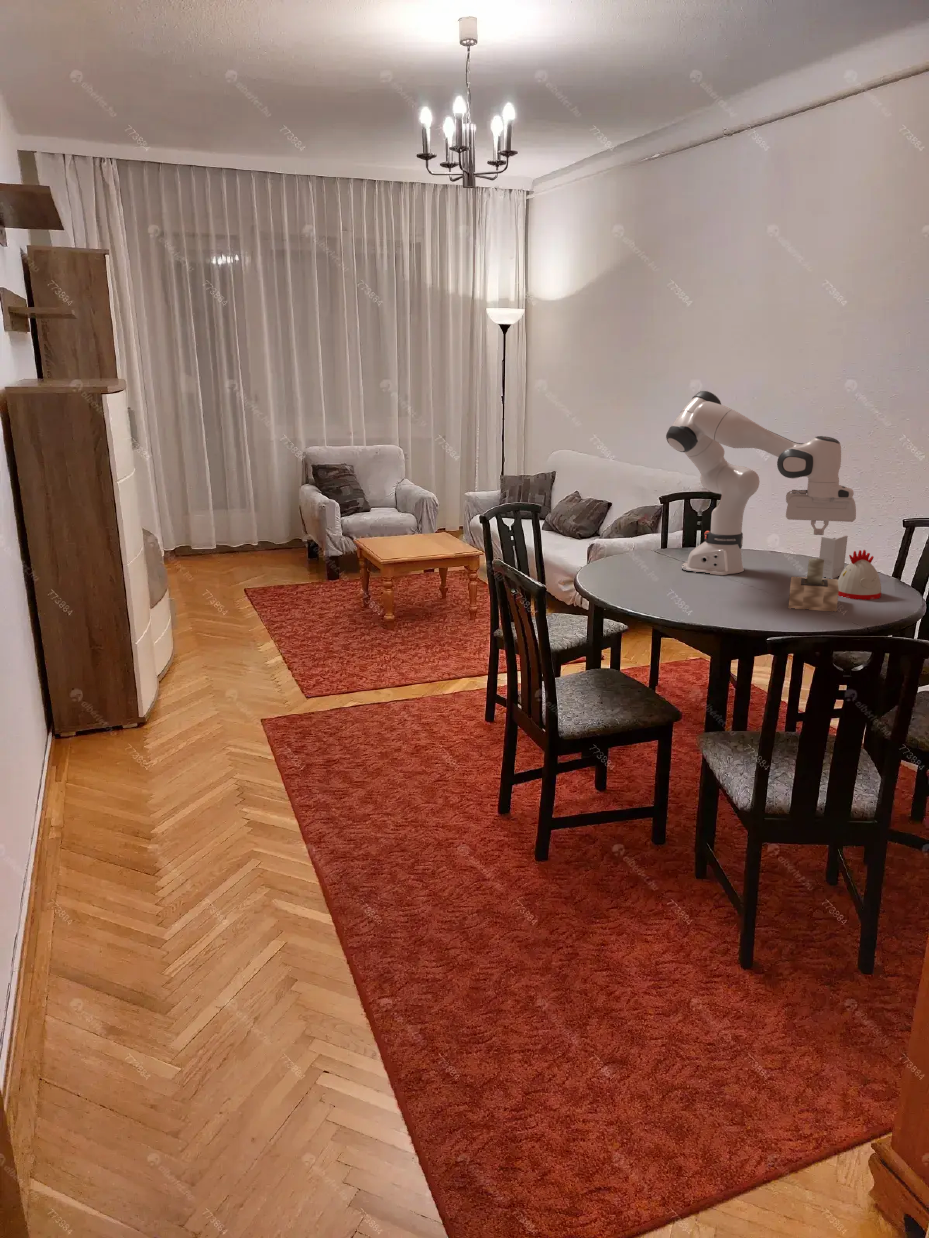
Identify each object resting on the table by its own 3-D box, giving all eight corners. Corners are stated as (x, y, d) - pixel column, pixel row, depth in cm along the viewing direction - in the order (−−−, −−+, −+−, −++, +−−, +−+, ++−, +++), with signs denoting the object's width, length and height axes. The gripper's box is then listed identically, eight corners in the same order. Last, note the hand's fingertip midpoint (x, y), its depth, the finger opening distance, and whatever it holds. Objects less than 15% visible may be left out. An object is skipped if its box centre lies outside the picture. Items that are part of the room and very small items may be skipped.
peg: (805, 591, 274) (808, 560, 271) (805, 588, 278) (808, 557, 275) (820, 592, 273) (824, 561, 270) (820, 589, 277) (824, 558, 274)
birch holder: (788, 608, 273) (790, 585, 271) (789, 597, 286) (791, 575, 283) (836, 611, 268) (838, 588, 266) (835, 600, 281) (837, 578, 279)
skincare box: (828, 572, 316) (832, 532, 312) (844, 575, 312) (848, 534, 307) (816, 576, 311) (820, 535, 307) (832, 579, 307) (836, 538, 302)
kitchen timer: (827, 590, 293) (831, 546, 289) (865, 588, 294) (870, 544, 290) (849, 601, 280) (854, 555, 275) (889, 598, 281) (894, 553, 277)
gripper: (786, 490, 267) (782, 535, 271) (858, 492, 260) (854, 538, 264) (787, 488, 273) (783, 531, 277) (857, 489, 266) (853, 534, 270)
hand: (818, 534), depth 270 cm, fingers closed
